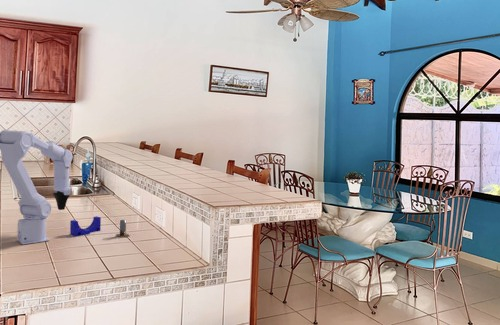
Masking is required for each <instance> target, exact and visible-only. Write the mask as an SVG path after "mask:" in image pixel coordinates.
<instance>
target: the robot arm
mask: <svg viewBox="0 0 500 325" xmlns="http://www.w3.org/2000/svg"><path fill="white" fill-rule="evenodd" d="M31 147H32V148H34V149H37V150H40V154H42V155H43V156H46V157H47V158H49V159H51V161H52V162H53V163H54V165H53V170H54V171H53V174H54V175H53V180H54V181H53V182H54V183H53V191H56V192H52V195H53V197H54V199H55V201H56V206H57V210H58V211H64V210H65V209H66V205H67V201H68V199H69V197H70V195H71V190H72V189H73V187H71V186H70V167H71V166H72V164H71V163H72V161H73V158H74V156H73V154H72V151H71V150H70V149H69V148H68V149H67V148H63V146H61V145H57V144H55V141H50V140H49V141H44V140H42V139H40V138H38V136H36V135H35V134H34V133H33V132H30V131H27V130H9V129H2V130H1V131H0V155H1V161H2V163H3V165H4V168H6V171H7V173H8V175H9V177H10V179H11V180H12V182H13V184H14V186H15V188H16V190H17V192H18V194H19V195H20V199H19V200H18V202H17V204H18V207H19V212H20V214H21V215H22V218H21V219H18V220H17V239H16V240H17V241H18V242H19V243H20V244H21V245H28V244H36V243H42V242H49V241H50V239H49V238H48V237H47V218H48V217H49V215H50V214H51V211H52V204H51V203H50V202H49V201H48V200H47V199H46V197H45V196H43V195H41V194H39V193H38V191H37V188H36V187H35V184H34V183H33V181H32V179H31V176H30V174H29V172H28V171H27V168H26V166H25V164H24V161H23V160H22V159H23V158H24V157H25V156H27V153H28V152H29V150H30V148H31Z"/></svg>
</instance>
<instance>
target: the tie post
mask: <svg viewBox="0 0 500 325" xmlns="http://www.w3.org/2000/svg"><path fill="white" fill-rule="evenodd" d="M115 236H116V237H118V238H120V239H121V238H128V237H130V234H129V233H127V220H126V219H120V221H119V233H115Z"/></svg>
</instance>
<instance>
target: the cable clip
mask: <svg viewBox="0 0 500 325" xmlns="http://www.w3.org/2000/svg"><path fill="white" fill-rule="evenodd" d="M101 219H102V218H101V217H100V216H97V215H96V216H93V219H92V221H91V223H90V224H89V226H88V227H86V228H81V227H80V226H79V221H78V220H75V219H72V220H70V224H69V225H70V228H69V229H70V230H69V233H70V234H71V236H73V237H81V236H86V235H90V234H91V233H96V232H100V231H101V223H102V222H101ZM70 234H69V235H70Z"/></svg>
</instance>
